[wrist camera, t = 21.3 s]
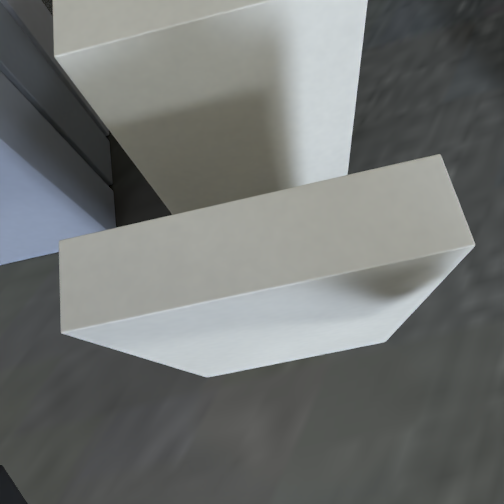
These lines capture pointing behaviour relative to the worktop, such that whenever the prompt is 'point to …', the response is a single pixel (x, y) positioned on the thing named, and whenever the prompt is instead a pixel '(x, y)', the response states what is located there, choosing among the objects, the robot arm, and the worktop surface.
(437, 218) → the thin white book
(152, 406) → the worktop surface
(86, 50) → the white books
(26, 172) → the grey books
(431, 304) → the worktop surface
